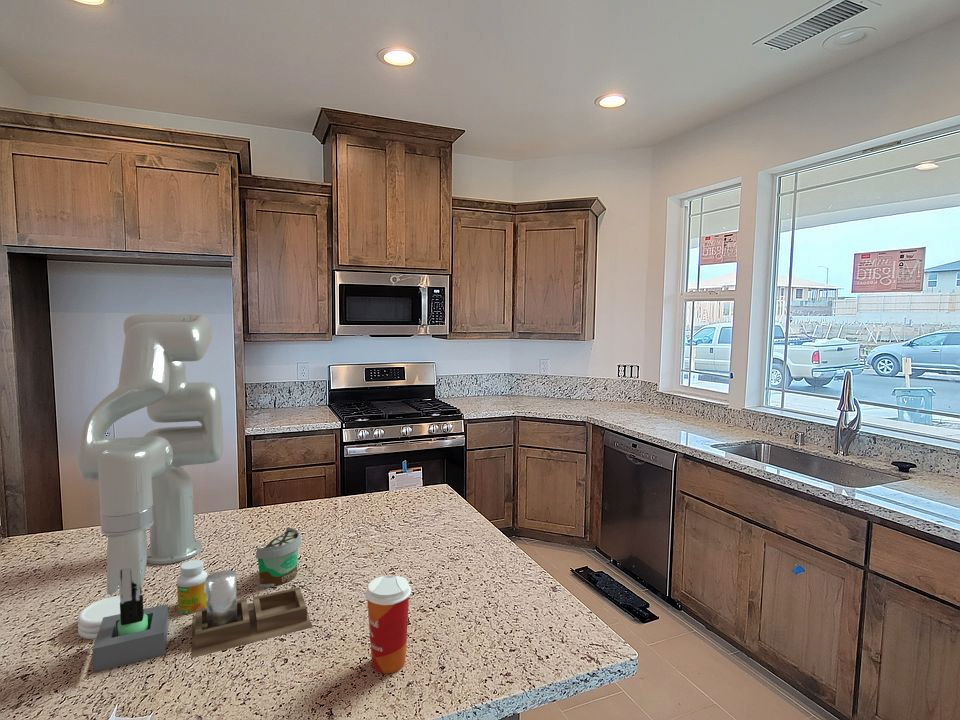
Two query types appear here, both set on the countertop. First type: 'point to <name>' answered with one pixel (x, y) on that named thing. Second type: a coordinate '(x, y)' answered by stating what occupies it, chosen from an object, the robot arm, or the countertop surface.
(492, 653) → the countertop surface
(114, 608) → the round white lidded container
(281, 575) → the food container
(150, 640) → the gray square holder
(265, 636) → the double slot desk organizer
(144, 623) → the button
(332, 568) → the countertop surface
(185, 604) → the supplement bottle
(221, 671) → the countertop surface
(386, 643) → the paper cup
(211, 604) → the billet
